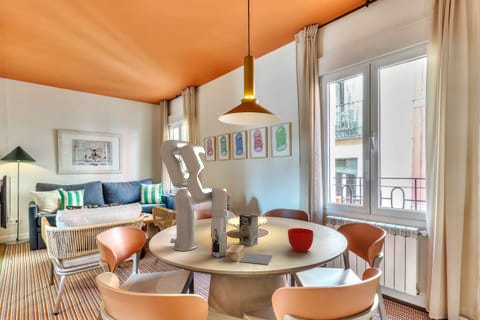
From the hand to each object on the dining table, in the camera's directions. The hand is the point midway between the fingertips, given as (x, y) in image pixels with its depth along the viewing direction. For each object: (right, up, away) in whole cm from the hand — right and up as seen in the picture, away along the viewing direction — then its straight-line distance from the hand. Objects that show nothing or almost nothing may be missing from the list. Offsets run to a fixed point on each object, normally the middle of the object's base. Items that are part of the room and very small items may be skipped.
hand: (219, 249), depth 126 cm
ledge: (+8, -3, -2) cm, 9 cm away
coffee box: (+15, -4, +20) cm, 25 cm away
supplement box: (0, -3, 0) cm, 3 cm away
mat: (+18, -3, -5) cm, 19 cm away
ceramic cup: (+41, -3, +9) cm, 42 cm away
